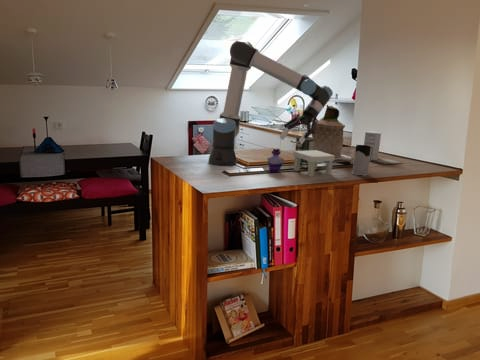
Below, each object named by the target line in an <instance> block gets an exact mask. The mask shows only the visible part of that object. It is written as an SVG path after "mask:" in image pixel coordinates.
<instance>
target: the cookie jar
mask: <svg viewBox="0 0 480 360" xmlns="http://www.w3.org/2000/svg"><path fill="white" fill-rule="evenodd" d="M339 116H340V110H339V109H338V108H337V107H334V106H333V105H329V104H326V109H325V111H324V116H323V117H322V118H320V119H317V120H318V122H317V124H316V129H315V134H311V136H312V137H311V138H314V139H315V140H314V147H313V150H317V151H321V152H324V153H328V154H331V155H334V156H335V160H336V161H338V160H339V161H340V160H341V161H351V159H352V157H351V156H348V155H345V154H343V153H342V154H341V152H342V150H343V145H344V129H345V127H346V125H345V124H343V123H342V122H341V121H339Z"/></svg>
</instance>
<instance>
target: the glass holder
mask: <svg viewBox="0 0 480 360" xmlns="http://www.w3.org/2000/svg"><path fill="white" fill-rule="evenodd" d="M371 149H372V151H371V156H370V150H371ZM372 153H373V148H372V147H370V146H367V145H364V144H356V146H355V150H354V156H353V164H352V171H351V173H352V174H351V175H353V174H354V176H357V175H368V176H369V166H370V162H371V161H372V160H371V157H372Z"/></svg>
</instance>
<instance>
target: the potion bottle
mask: <svg viewBox="0 0 480 360" xmlns="http://www.w3.org/2000/svg"><path fill="white" fill-rule="evenodd" d="M271 154H272V156H269V157H266V159H267V164H268V169H269V172H270V173H272V174H273V173H274V174H279V173H280V172H281V168H282V167H283V164H284V160H285V159H284V158H283V157H280V155H281V150H280V148H278V147H276V148H275V147H274V148H272V151H271Z"/></svg>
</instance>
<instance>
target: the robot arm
mask: <svg viewBox="0 0 480 360" xmlns="http://www.w3.org/2000/svg"><path fill="white" fill-rule="evenodd" d="M229 54H230V59H229V66H230V67H231V70H230V76H229V82H228V87H227V92H226V97H225V102H224V106H223V111H222V112H221V113H220V114H219V117H218V118H217V119H215V120H213V125H212V127H213V129H212V148H211V151H210V154H209V157H208V164H211V165H213V166H219V167H220V166H221V167H224V166H225V167H229V166H235V165H237V162H238V161H237V157H236V152H235V141H236V139H235V138H236V137H237V136H238V135H239V132H240V123H241V118H242V117H241V116H240V110H241V104H242V99H243V94H244V90H245V84H246V80H247V74H248V72H249V70H251V69H252V67H253V68H255V69H257V70H259V71H260V72H262V73H264V74H266V75H268V76H270V77H272V78H274V79H277V80H278V81H280V82H282V83H283V84H286V85H288V86H289V87H291V88H294V89H295V90H298V91H299V92H301V93H303V94H304V95H306V96H308V97H310V98H311V100H310V102H309V103H308V104H307V106H306V107H305V108H304V110H303V111H302V114H301V115H299V114H296V115H295V116H294V117H293V118H291V119H290V120H288V121H287V122H286V123H284V124H283V127H284V129H283V131H282V133H281V134H280V135H279V138H280V139H281V141H284V140H285V138H286V137H287V136H288V134H289V132H290V130H292V129H293V128H296V127H298V126H300V125H305V126H306V130H305V132H304V133H303V134H302V136H300V137H301V138H300V139H299V142H300V144H303V142H304V141H305V139H307V138H308V137H310V136H312V134H315V129H316V124H317V122H318V120H319V119H318V118H317V117H318V115H319V114H320V113H321V111H322V110H323V109H324V108H325V106H327V105H328V102H329V101H330V100H331V98H332V96H333V94H334V93H333V92H334V91H333V90H332V89H331V88H330V86H327V85H323V86H320V85H319V84H317V82H315V81H314V80H313V79H311V78H310V77H309V76H308V75H306V74H301V73H299V72H297V71H296V70H293V69H291V68H289V67H288V66H286V65H283V64H281V63H280V62H278V61H276V60H275V59H272V58H270V57H268V56H266V55H264V54H263V53H260V51H259V49H258V48H255V47H254V46H253V44H252V43H251V42H249V41H246V40H244V39H237V40H236V41H234V42H233V43H232V44H231V45H230V48H229Z"/></svg>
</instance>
